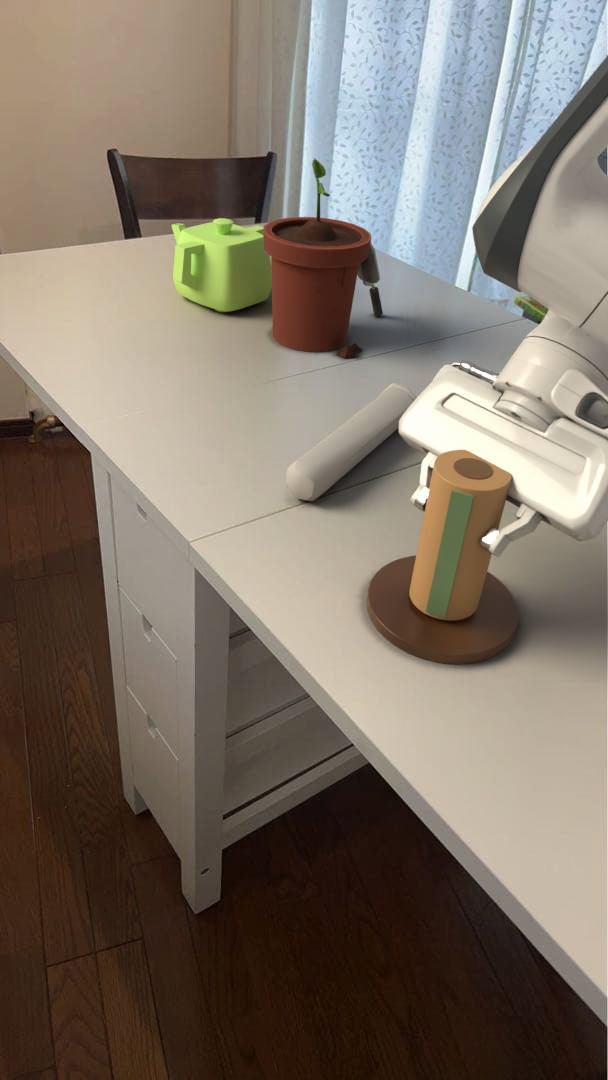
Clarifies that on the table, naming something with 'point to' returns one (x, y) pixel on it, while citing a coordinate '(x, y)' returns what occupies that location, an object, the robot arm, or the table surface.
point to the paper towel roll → (457, 534)
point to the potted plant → (318, 278)
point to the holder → (436, 636)
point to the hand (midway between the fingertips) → (452, 529)
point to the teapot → (221, 265)
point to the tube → (348, 444)
